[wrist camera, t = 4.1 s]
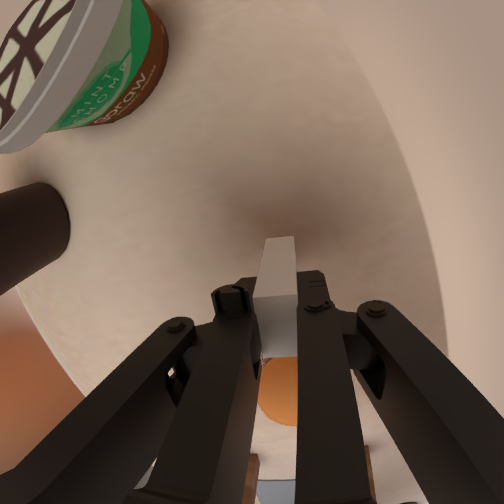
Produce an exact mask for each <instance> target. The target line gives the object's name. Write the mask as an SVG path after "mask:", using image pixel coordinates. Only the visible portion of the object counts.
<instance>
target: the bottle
mask: <svg viewBox="0 0 504 504" xmlns="http://www.w3.org/2000/svg"><path fill="white" fill-rule="evenodd" d="M68 238H69V224H68V218H67V213H66V210H65V208H64V205H63V202H62V200H61V199H60V197H59V196H58V194H57V192H56V191H54V190H53V189H52V188H51V187H50V186H49V185H46V184H43V183H36V184H31V185H27V186H24V187H20V188H17V189H13V190H10V191H7V192H3V193H0V295H2V294H4V293H5V292H6V291H8V290H9V289H11V288H12V287H14V286H15V285H17V284H18V283H20V282H21V281H23V280H24V279H26V278H27V277H29V276H30V275H32V274H34V273H35V272H37V271H38V270H40V269H42V268H43V267H45V266H46V265H48V264H50V263H51V262H53V261H54V260H56V259H58V258H59V257H60V256H61V255H62V253H63V252H64V251H65V249H66V246H67V242H68Z"/></svg>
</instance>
